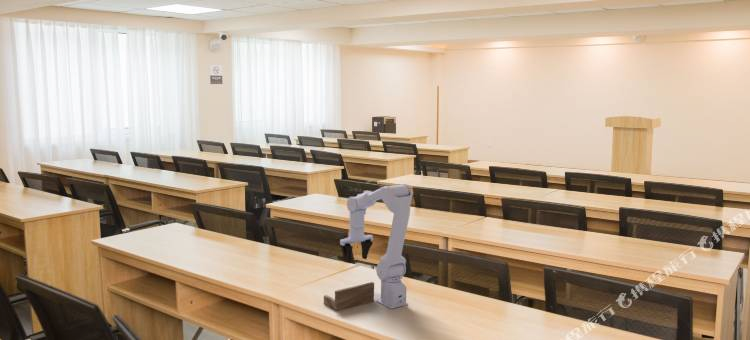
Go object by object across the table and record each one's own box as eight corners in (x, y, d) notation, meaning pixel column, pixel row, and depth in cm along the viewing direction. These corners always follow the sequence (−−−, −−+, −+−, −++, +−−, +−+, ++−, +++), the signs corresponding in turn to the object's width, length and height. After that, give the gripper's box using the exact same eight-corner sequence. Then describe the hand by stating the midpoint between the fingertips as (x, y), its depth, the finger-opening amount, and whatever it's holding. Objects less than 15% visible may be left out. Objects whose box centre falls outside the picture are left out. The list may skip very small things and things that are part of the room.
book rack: (373, 301, 217) (374, 283, 216) (336, 310, 207) (336, 291, 206) (360, 294, 224) (360, 276, 223) (323, 303, 214) (323, 284, 213)
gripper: (365, 222, 238) (365, 254, 240) (335, 227, 229) (335, 260, 231) (376, 225, 232) (375, 259, 234) (345, 230, 223) (345, 265, 225)
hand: (356, 260), depth 232 cm, fingers open, 7 cm apart
